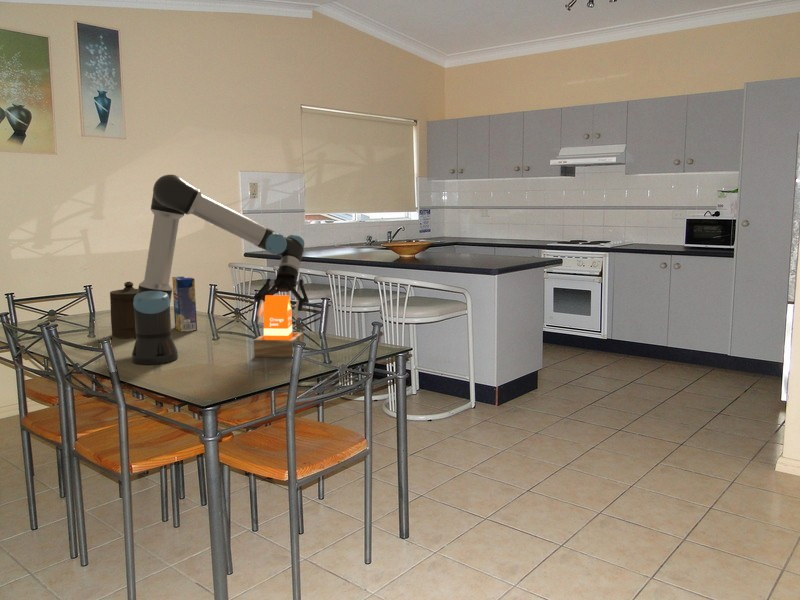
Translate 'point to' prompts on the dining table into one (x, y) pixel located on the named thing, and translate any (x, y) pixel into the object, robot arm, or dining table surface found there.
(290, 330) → the orange juice
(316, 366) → the dining table surface
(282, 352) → the box
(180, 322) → the beverage box
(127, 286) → the wooden container
